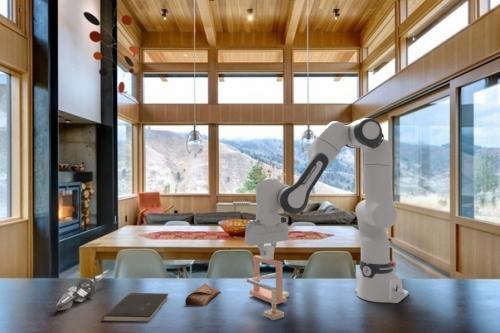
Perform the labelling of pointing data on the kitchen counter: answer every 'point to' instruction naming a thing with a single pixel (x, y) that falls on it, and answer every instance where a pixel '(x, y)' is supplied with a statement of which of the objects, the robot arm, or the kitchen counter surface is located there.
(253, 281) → the bent towel rail
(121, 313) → the hardcover book
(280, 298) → the pink frame with handle
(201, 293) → the sunglasses case
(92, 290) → the spaceship
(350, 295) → the kitchen counter surface
